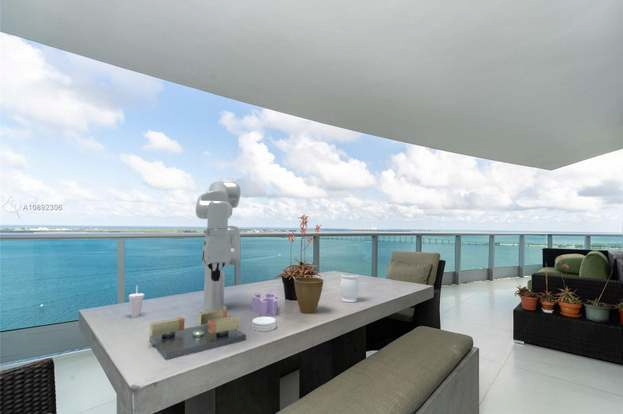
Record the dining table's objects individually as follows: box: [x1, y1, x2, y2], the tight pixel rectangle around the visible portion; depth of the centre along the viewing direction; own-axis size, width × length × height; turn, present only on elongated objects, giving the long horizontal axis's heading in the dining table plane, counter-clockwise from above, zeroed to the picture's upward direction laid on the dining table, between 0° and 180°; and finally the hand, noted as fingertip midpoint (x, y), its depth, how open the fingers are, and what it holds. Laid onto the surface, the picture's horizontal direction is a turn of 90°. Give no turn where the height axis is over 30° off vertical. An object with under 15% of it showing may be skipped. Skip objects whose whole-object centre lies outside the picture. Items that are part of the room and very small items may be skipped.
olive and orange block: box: [149, 316, 186, 338], centre depth 113 cm, size 11×4×5 cm, turn 133°
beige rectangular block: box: [197, 309, 229, 326], centre depth 126 cm, size 11×4×5 cm, turn 131°
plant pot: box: [293, 276, 324, 314], centre depth 158 cm, size 15×15×16 cm
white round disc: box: [251, 316, 277, 333], centre depth 131 cm, size 10×10×4 cm
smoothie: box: [128, 285, 145, 318], centre depth 143 cm, size 6×6×14 cm
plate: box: [149, 324, 247, 360], centre depth 115 cm, size 20×28×3 cm
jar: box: [340, 273, 360, 303], centre depth 182 cm, size 11×10×15 cm
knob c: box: [208, 315, 241, 336], centre depth 116 cm, size 11×4×5 cm, turn 125°
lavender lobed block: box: [251, 292, 278, 317], centre depth 157 cm, size 20×12×7 cm, turn 19°
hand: (215, 280), depth 120 cm, fingers closed
